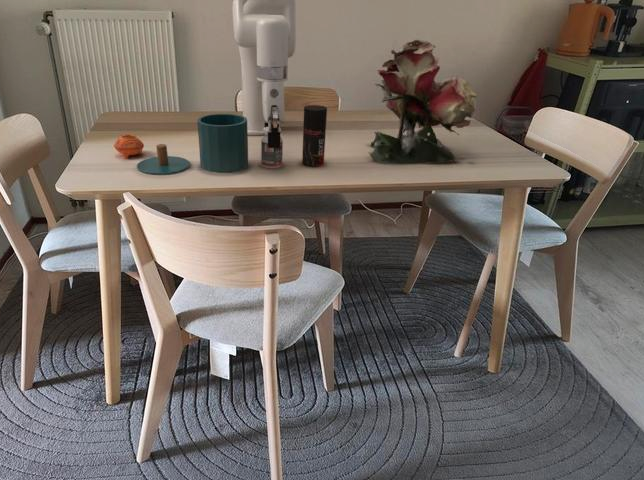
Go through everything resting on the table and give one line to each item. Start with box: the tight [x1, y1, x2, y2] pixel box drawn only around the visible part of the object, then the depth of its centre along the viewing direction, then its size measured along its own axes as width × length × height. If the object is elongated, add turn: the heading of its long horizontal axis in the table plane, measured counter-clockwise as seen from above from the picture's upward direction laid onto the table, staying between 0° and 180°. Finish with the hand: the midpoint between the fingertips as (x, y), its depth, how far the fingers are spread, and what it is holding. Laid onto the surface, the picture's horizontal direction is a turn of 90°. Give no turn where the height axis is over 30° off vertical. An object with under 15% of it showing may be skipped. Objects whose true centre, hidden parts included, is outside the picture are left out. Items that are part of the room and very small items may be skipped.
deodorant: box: [301, 104, 328, 168], centre depth 133 cm, size 6×6×15 cm
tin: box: [196, 113, 249, 174], centre depth 130 cm, size 13×13×12 cm
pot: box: [113, 133, 145, 160], centre depth 137 cm, size 8×8×7 cm
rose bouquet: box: [367, 38, 478, 165], centre depth 141 cm, size 26×29×30 cm
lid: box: [136, 143, 191, 176], centre depth 130 cm, size 14×14×6 cm
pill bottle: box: [260, 127, 284, 169], centre depth 132 cm, size 6×6×10 cm
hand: (272, 142), depth 131 cm, fingers open, 9 cm apart
